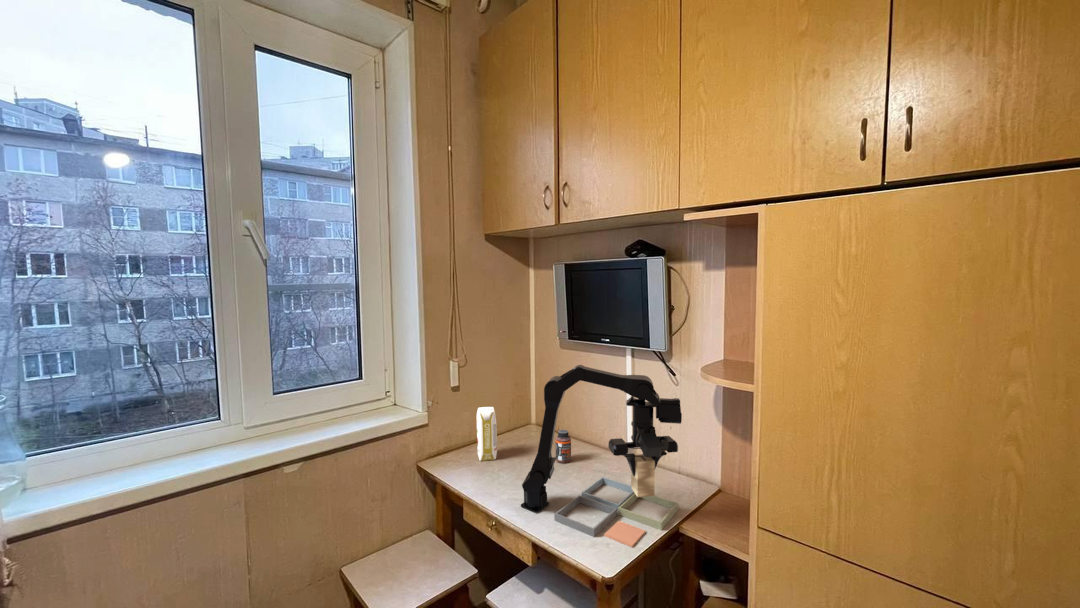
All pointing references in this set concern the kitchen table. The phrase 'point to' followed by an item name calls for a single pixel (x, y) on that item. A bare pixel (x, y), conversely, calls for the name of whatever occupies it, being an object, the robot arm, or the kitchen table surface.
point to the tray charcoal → (579, 526)
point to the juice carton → (486, 433)
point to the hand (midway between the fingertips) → (642, 474)
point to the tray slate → (611, 483)
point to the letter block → (643, 476)
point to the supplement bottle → (563, 447)
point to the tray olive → (647, 520)
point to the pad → (624, 533)
